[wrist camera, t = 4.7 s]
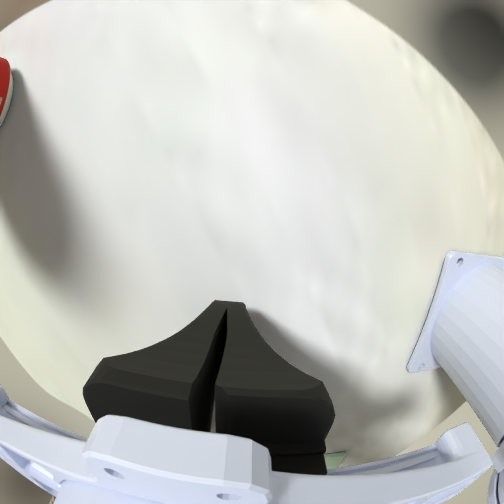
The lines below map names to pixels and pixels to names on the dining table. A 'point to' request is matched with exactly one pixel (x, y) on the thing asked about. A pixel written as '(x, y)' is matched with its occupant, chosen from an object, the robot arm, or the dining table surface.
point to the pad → (334, 459)
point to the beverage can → (5, 88)
